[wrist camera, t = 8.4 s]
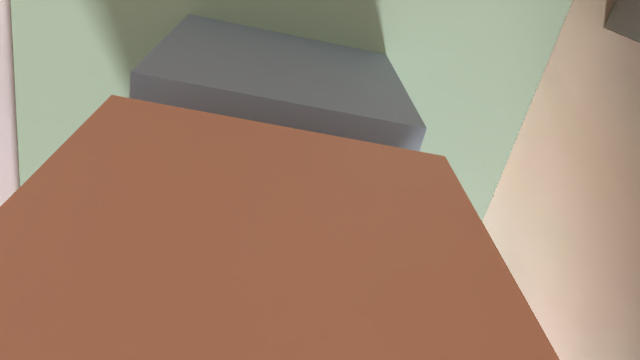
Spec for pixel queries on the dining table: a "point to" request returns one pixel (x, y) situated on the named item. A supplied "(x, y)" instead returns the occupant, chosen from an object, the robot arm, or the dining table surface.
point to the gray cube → (625, 19)
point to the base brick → (279, 82)
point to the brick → (249, 249)
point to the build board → (313, 23)
